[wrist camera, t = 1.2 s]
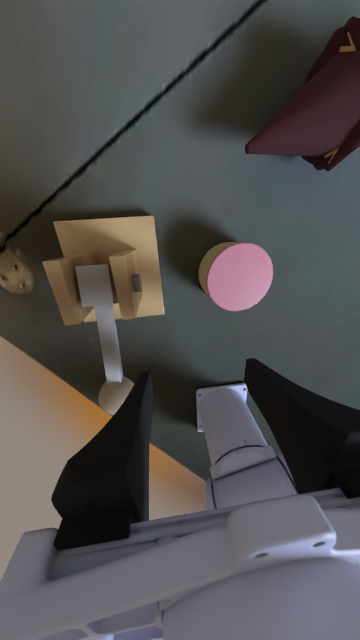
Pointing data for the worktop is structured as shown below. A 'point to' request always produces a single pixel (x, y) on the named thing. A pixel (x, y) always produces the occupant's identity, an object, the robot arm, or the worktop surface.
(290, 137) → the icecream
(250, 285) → the cake
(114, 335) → the lever with ball knob
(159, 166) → the worktop surface
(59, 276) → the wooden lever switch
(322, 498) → the robot arm
